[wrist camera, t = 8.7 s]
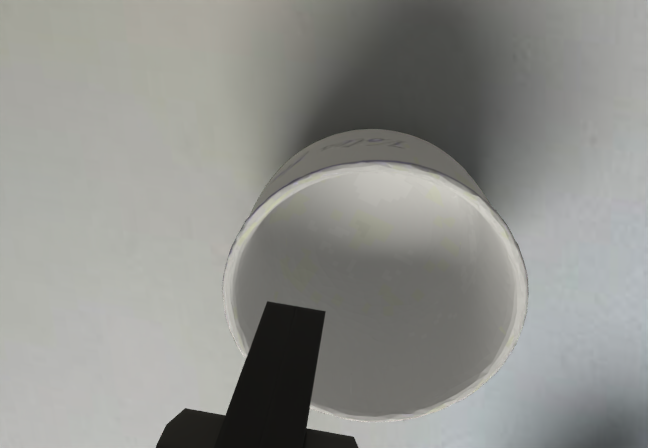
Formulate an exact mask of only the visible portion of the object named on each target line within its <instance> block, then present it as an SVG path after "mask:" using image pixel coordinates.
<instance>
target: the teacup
mask: <svg viewBox="0 0 648 448" xmlns="http://www.w3.org/2000/svg"><path fill="white" fill-rule="evenodd" d="M222 290H223V300H224V308H225V316H226V320H227V323H228V326H229V330H230V332H231V334H232V336H233V338H234V341H235V343H236V345H237V347H238V348H239V350H240V351H241V353H242V354H243V356H244V357H245V358H247V355H248V353H249V350H250V347H251V344H252V342H253V339H254V336H255V333H256V331H257V328H258V325H259V322H260V319H261V317H262V314H263V311H264V308H265V306H266V303H267V301H269V302H275V303H281V304H287V305H293V306H299V307H304V308H310V309H316V310H322V311H326V313H325V319H324V325H323V331H322V337H321V343H320V349H319V355H318V361H317V367H316V373H315V379H314V386H313V392H312V398H311V403H310V409H313V410H316V411H318V412H321V413H324V414H329V415H333V416H336V417H339V418H343V419H348V420H353V421H360V422H392V421H400V420H406V419H411V418H417V417H421V416H424V415H427V414H431V413H434V412H437V411H439V410H442V409H444V408H446V407H448V406H450V405H452V404H454V403H456V402H459V401H461V400H463V399H465V398H466V397H468V396H469V395H471V394H472V393H474V392H475V391H476V390H478V389H479V388H480V387H481V386H482V385H484V384H485V383H486V382H487V381H488V380H489V379H490V378H491V377H492V376H494V375H495V374H496V373H497V372H498V370H499V369H500V368H501V366H502V365H503V364H504V362H505V361H506V360H507V358H508V357H509V355H510V354H511V352H512V350H513V349H514V347H515V345H516V343H517V340H518V338H519V335H520V333H521V330H522V328H523V325H524V321H525V317H526V313H527V305H528V277H527V272H526V268H525V264H524V261H523V258H522V255H521V252H520V249H519V246H518V244H517V242H516V241H515V239H514V237H513V235H512V233H511V231H510V230H509V228H508V226H507V224H506V223H505V222H504V220H503V219H502V218H501V217H500V215H499V214H498V213H497V212H496V210H495V209H494V208H493V207H492V206H491V204H490V203H489V201H488V200H487V198H486V197H485V195H484V194H483V192H482V191H481V189H480V188H479V186H478V185H477V184H476V182H475V181H474V180H473V178H472V177H471V176H470V175H469V174H468V173H467V171H466V170H465V169H464V168H463V167H462V166H461V165H460V164H459V163H458V162H456V161H455V160H454V159H453V158H452V157H451V156H449V155H448V154H447V153H445V152H444V151H443V150H441V149H439V148H438V147H436V146H435V145H433V144H431V143H429V142H427V141H425V140H423V139H420V138H418V137H415V136H412V135H409V134H405V133H401V132H397V131H391V130H384V129H362V130H352V131H347V132H343V133H338V134H335V135H332V136H329V137H326V138H324V139H322V140H319V141H317V142H315V143H313V144H311V145H310V146H308V147H306V148H304V149H303V150H301V151H300V152H299V153H297V154H296V155H295V156H293V157H292V158H290V159H289V160H288V161H287V162H286V163H285V164H284V165H283V166H282V167H281V168H280V169H279V170H278V171H277V173H276V174H275V175H274V176H273V177H272V178H271V180H270V181H269V183H268V184H267V185H266V187H265V188H264V190H263V192H262V193H261V195H260V197H259V198H258V200H257V202H256V204H255V206H254V208H253V210H252V212H251V214H250V216H249V217H248V219H247V220H246V221H245V223H244V225H243V226H242V228H241V230H240V232H239V234H238V235H237V237H236V239H235V241H234V243H233V245H232V247H231V250H230V253H229V256H228V259H227V264H226V267H225V271H224V276H223V287H222Z"/></svg>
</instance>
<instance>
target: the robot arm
mask: <svg viewBox="0 0 648 448" xmlns="http://www.w3.org/2000/svg"><path fill="white" fill-rule="evenodd" d="M325 313H326V311H322V310H316V309H310V308H304V307H299V306H293V305H287V304H281V303H275V302H269V301H267V303H266V306H265V308H264V311H263V314H262V317H261V319H260V322H259V325H258V328H257V331H256V333H255V336H254V339H253V342H252V344H251V347H250V350H249V353H248V355H247V358H246V361H245V364H244V366H243V369H242V372H241V375H240V377H239V380H238V383H237V386H236V388H235V391H234V394H233V397H232V399H231V402H230V405H229V408H228V410H227V413H226V416H225V415H219V414H214V413H208V412H203V411H197V410H191V409H186V408H185V409H184V410H183V411H182V412H181V413H179V414H178V415H177V416H176V417H175V418H174V419H172V420H171V421H170V422H169V423H168V424H167V425H166V427H165V429H164V431H163V433H162V435H161V437H160V439H159V441H158V443H157V445H156V448H358V446H357V444H356V441H355V439H354V437H352V436H346V435H340V434H335V433H329V432H323V431H318V430H312V429H307V428H306V427H307V421H308V415H309V409H310V403H311V398H312V392H313V386H314V379H315V373H316V367H317V361H318V355H319V349H320V343H321V337H322V331H323V325H324V319H325Z"/></svg>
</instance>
